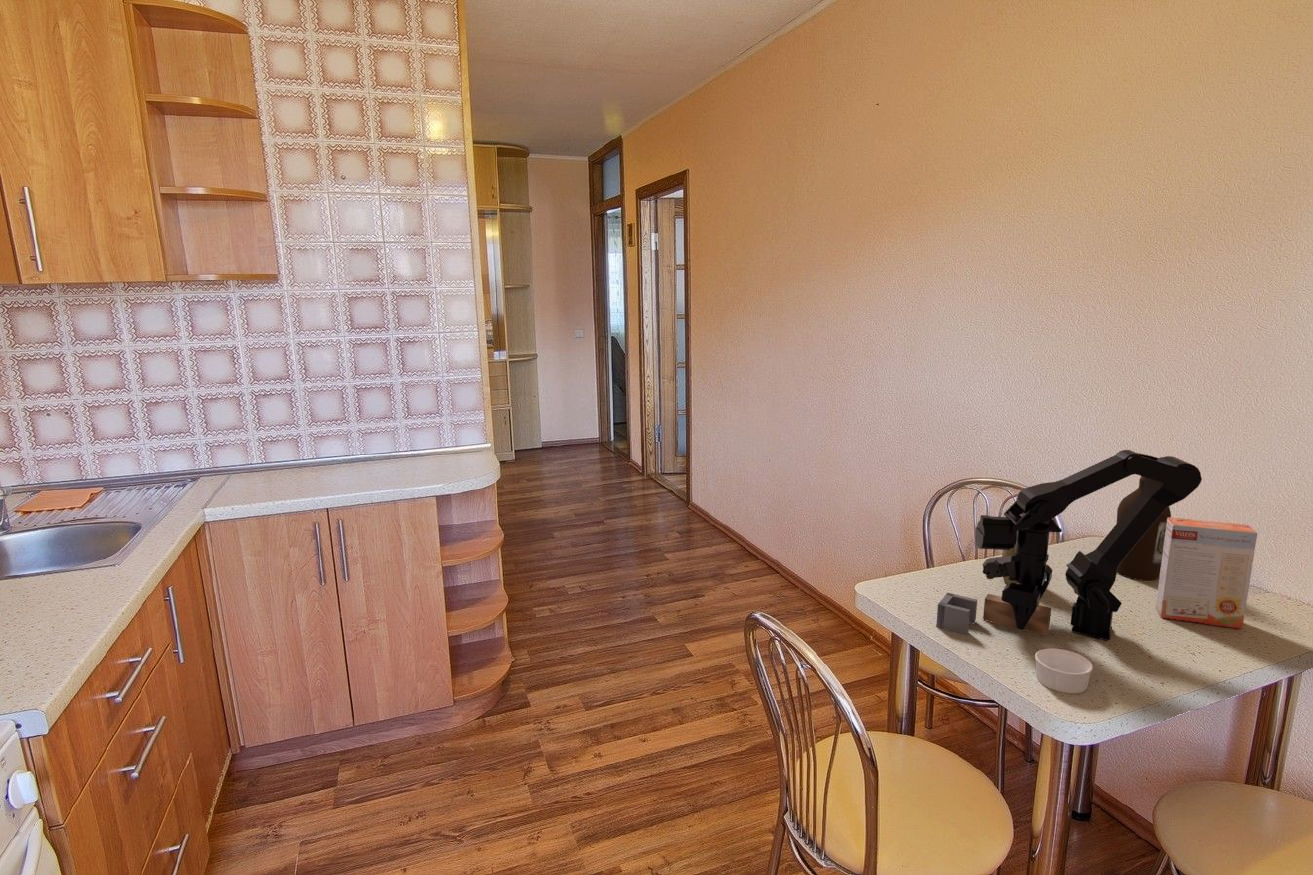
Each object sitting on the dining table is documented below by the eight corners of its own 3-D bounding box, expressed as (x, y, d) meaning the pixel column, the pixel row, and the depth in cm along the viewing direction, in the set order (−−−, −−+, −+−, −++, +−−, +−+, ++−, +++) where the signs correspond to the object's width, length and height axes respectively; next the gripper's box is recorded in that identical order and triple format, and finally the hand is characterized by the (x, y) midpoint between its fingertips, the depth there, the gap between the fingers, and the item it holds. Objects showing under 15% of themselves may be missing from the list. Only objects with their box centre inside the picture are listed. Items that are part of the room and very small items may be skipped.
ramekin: (1066, 701, 120) (1069, 678, 119) (1021, 675, 128) (1023, 654, 127) (1101, 689, 123) (1104, 666, 122) (1055, 665, 131) (1058, 643, 130)
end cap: (975, 621, 148) (977, 599, 147) (966, 634, 143) (968, 611, 142) (945, 614, 152) (947, 592, 151) (936, 626, 146) (937, 604, 145)
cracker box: (1233, 618, 148) (1249, 523, 144) (1242, 630, 143) (1259, 532, 139) (1153, 606, 154) (1167, 515, 150) (1159, 618, 149) (1173, 523, 144)
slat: (1049, 630, 145) (1051, 607, 144) (1046, 636, 142) (1049, 613, 141) (986, 615, 152) (988, 593, 151) (982, 620, 149) (984, 598, 148)
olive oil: (1104, 573, 172) (1117, 474, 167) (1116, 561, 179) (1128, 465, 174) (1156, 585, 165) (1171, 482, 160) (1166, 572, 172) (1181, 473, 167)
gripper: (998, 530, 155) (992, 596, 158) (977, 555, 140) (971, 628, 143) (1056, 540, 148) (1048, 609, 151) (1040, 568, 133) (1032, 644, 137)
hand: (1024, 621), depth 146 cm, fingers open, 8 cm apart
